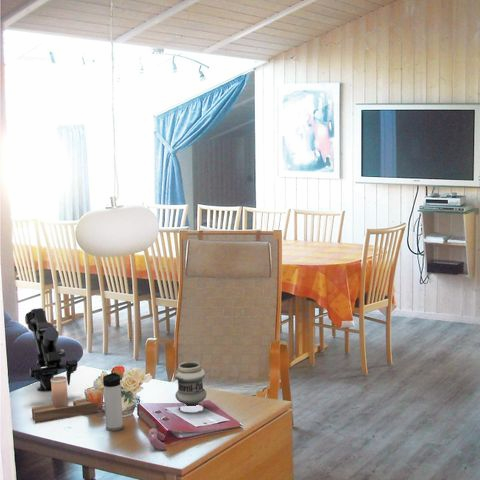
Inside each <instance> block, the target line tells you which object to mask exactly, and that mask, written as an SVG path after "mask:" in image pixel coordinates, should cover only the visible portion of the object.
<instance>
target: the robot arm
mask: <svg viewBox="0 0 480 480" xmlns="http://www.w3.org/2000/svg"><path fill="white" fill-rule="evenodd" d="M24 321H25V324H26V325H27V328H28V330H29V331H31V332H32V333H33V337H34V340H35V345H36V351H37V353H38V354H37V359H36V363H35V364H33V365H30V366H29V367H30V368H29V378H31V379H32V378H33V379H34V380H37V381H38V383H39V382H40V383H39V384H40V386H39V387H38V388H37V389H36V390H37V391H47V392H48V391H49V392H52V389H51V378H54V377H55V376H54V375H58V374H59V370H65V371H66V373H65V375H66V378H67V386H70V385H71V384H70V383H71V374H73V373H75V372H76V371H77V370H78V369H77V368H78V365H79V363H78V360H77V359H76V358H73V359H67V360H66V363H61V362H62V358H65V357H66V352H65V348H61V349H59V350H58V349H57V344H58V341H59V334H60V332H59V331H58V330H57V329H56V327H54V325H53V324H52V323H50V322H48V320H47V315H46V311H45V310H44V308H43V307H42V308H41V307H38V308H33V309H30V311H28V312H27V313H26V314H25V317H24Z"/></svg>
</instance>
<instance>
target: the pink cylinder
mask: <svg viewBox="0 0 480 480" xmlns="http://www.w3.org/2000/svg"><path fill="white" fill-rule="evenodd" d="M51 389H52V391H51V401H52V403H51V404H53V405H54V407H55V408H62V407H68V406H69V398H68V382H67V376H63V375H61V376H60V375H59V376H54V378H51Z"/></svg>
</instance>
